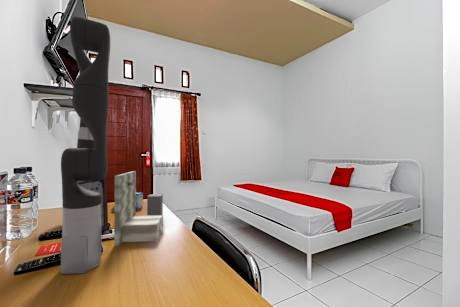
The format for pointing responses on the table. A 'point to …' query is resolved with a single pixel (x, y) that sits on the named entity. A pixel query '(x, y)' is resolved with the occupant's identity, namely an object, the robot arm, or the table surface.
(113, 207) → the video game controller
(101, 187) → the picture frame
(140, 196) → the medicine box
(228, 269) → the table surface
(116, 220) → the wall shelf
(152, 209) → the dark grey block
